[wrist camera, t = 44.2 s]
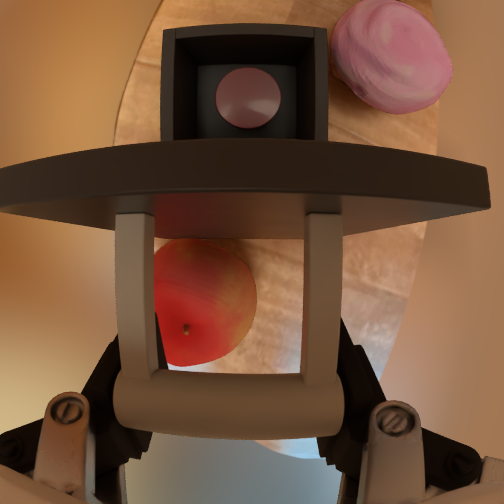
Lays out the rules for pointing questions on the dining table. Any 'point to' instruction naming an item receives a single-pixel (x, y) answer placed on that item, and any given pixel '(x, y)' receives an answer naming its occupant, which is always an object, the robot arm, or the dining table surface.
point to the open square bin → (238, 56)
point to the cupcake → (390, 56)
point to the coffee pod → (248, 98)
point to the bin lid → (238, 227)
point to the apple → (201, 300)
